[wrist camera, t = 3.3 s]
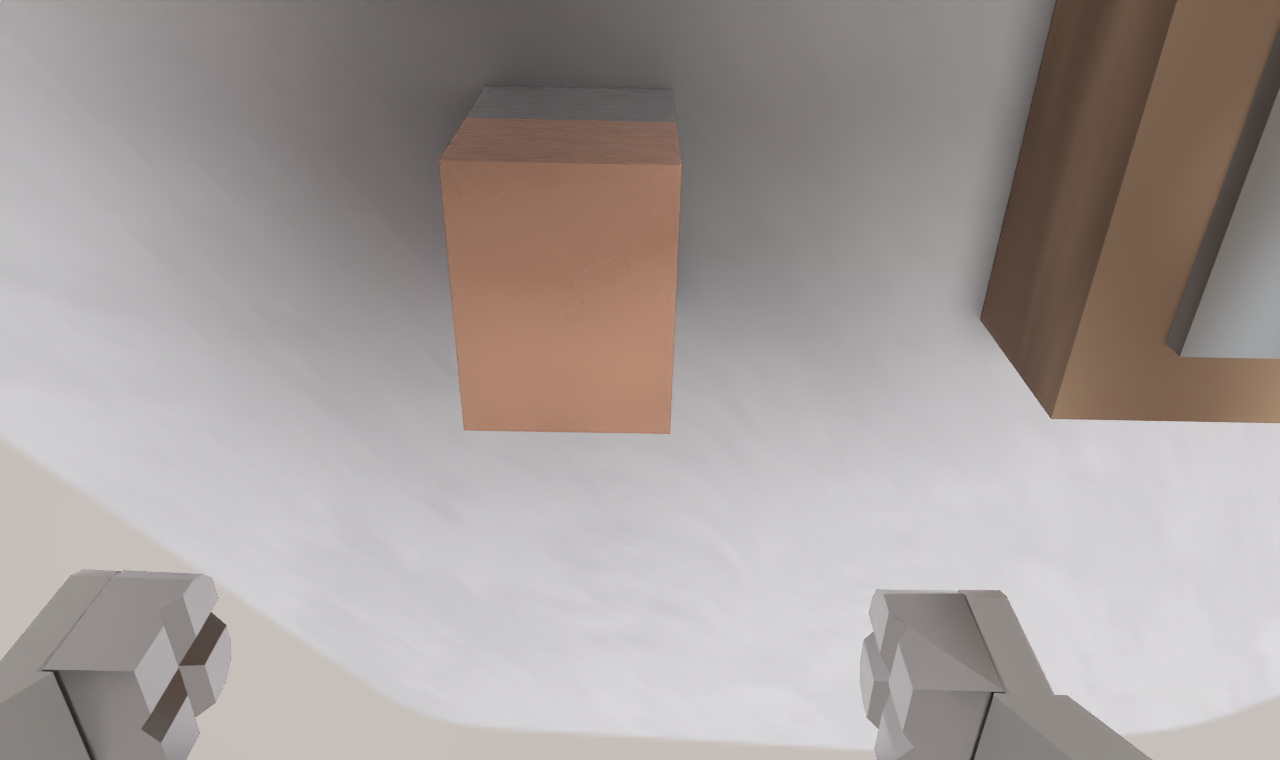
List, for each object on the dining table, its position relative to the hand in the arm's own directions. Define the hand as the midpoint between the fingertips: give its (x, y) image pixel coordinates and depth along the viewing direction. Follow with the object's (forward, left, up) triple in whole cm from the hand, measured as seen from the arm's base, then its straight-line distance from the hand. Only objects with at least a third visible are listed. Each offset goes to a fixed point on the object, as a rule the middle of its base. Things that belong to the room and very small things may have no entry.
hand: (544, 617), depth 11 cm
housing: (0, 0, -14) cm, 14 cm away
